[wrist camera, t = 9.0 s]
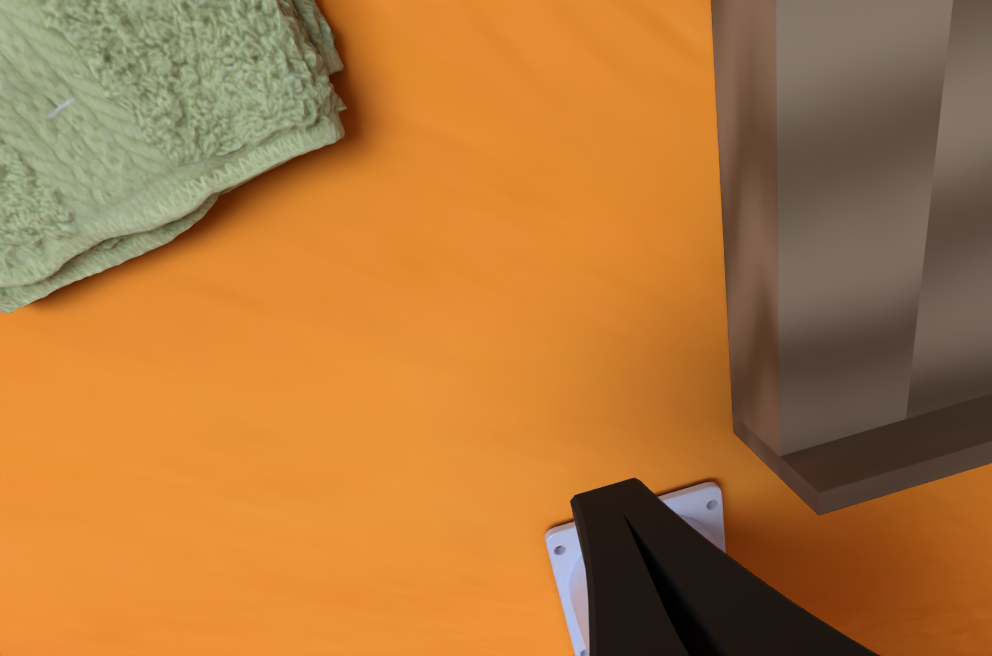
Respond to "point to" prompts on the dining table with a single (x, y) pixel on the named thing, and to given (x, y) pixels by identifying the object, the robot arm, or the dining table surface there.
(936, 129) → the trap box
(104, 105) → the washcloth
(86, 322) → the dining table surface
